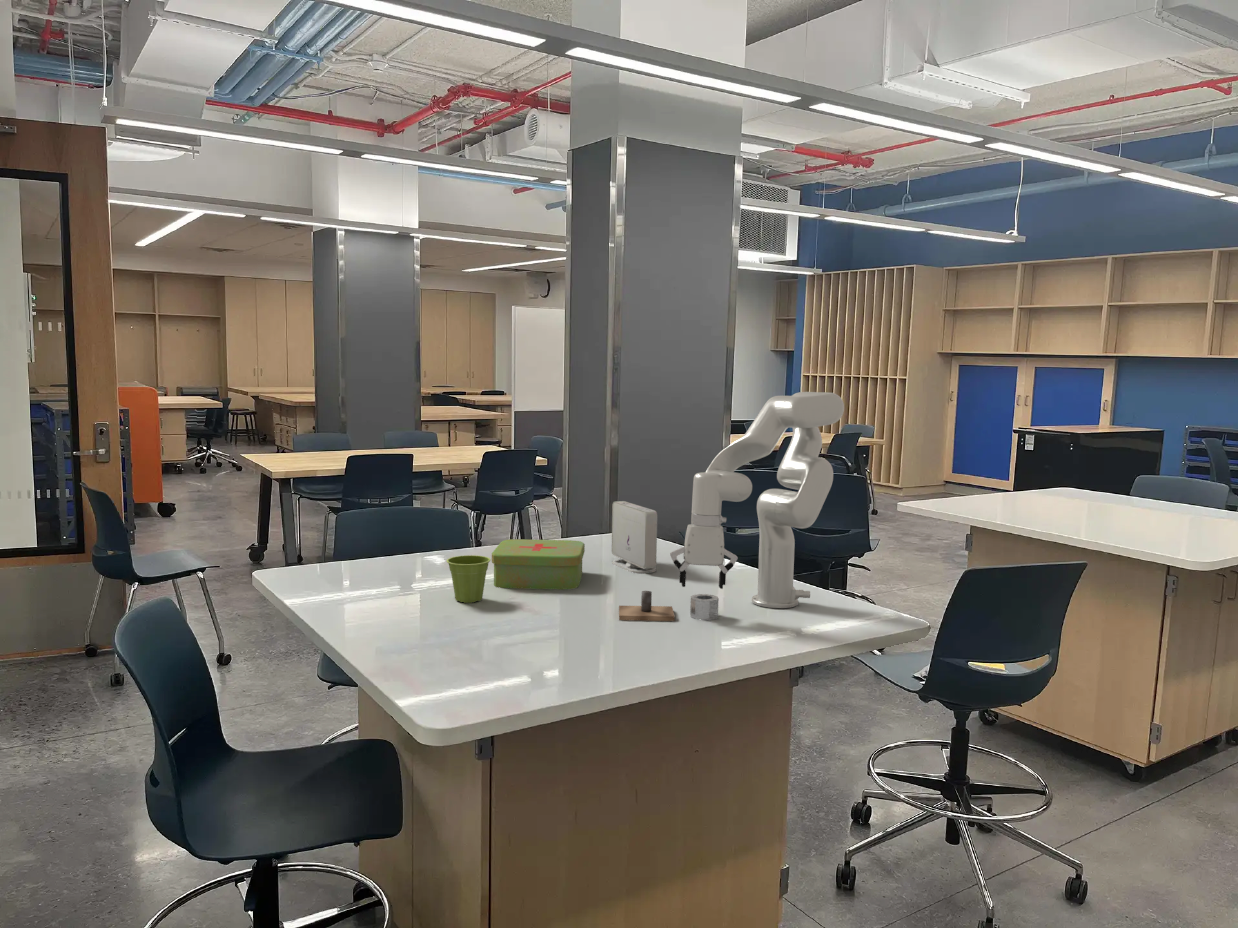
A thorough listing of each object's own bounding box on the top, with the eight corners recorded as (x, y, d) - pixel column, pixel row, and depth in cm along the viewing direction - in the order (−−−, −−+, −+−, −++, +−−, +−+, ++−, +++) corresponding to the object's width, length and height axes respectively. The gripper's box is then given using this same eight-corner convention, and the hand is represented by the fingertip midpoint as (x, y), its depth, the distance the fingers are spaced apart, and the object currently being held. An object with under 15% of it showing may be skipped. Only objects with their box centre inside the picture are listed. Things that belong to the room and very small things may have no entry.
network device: (605, 560, 301) (606, 501, 299) (628, 558, 305) (629, 500, 303) (638, 575, 278) (640, 512, 276) (663, 573, 282) (665, 510, 280)
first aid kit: (579, 591, 258) (580, 556, 257) (489, 589, 259) (489, 554, 258) (584, 571, 284) (585, 540, 283) (502, 569, 285) (502, 538, 284)
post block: (671, 610, 237) (672, 587, 236) (674, 620, 227) (675, 596, 226) (618, 609, 237) (619, 586, 236) (619, 620, 227) (619, 596, 226)
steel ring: (716, 612, 235) (716, 594, 235) (719, 620, 228) (719, 600, 228) (689, 612, 235) (689, 593, 235) (691, 619, 228) (692, 600, 228)
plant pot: (441, 597, 247) (441, 557, 246) (482, 593, 252) (482, 553, 251) (453, 607, 237) (453, 565, 235) (496, 602, 242) (496, 561, 241)
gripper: (737, 520, 233) (733, 585, 234) (671, 517, 233) (667, 582, 234) (741, 524, 226) (737, 591, 227) (673, 521, 226) (669, 588, 227)
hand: (702, 586), depth 231 cm, fingers open, 9 cm apart
